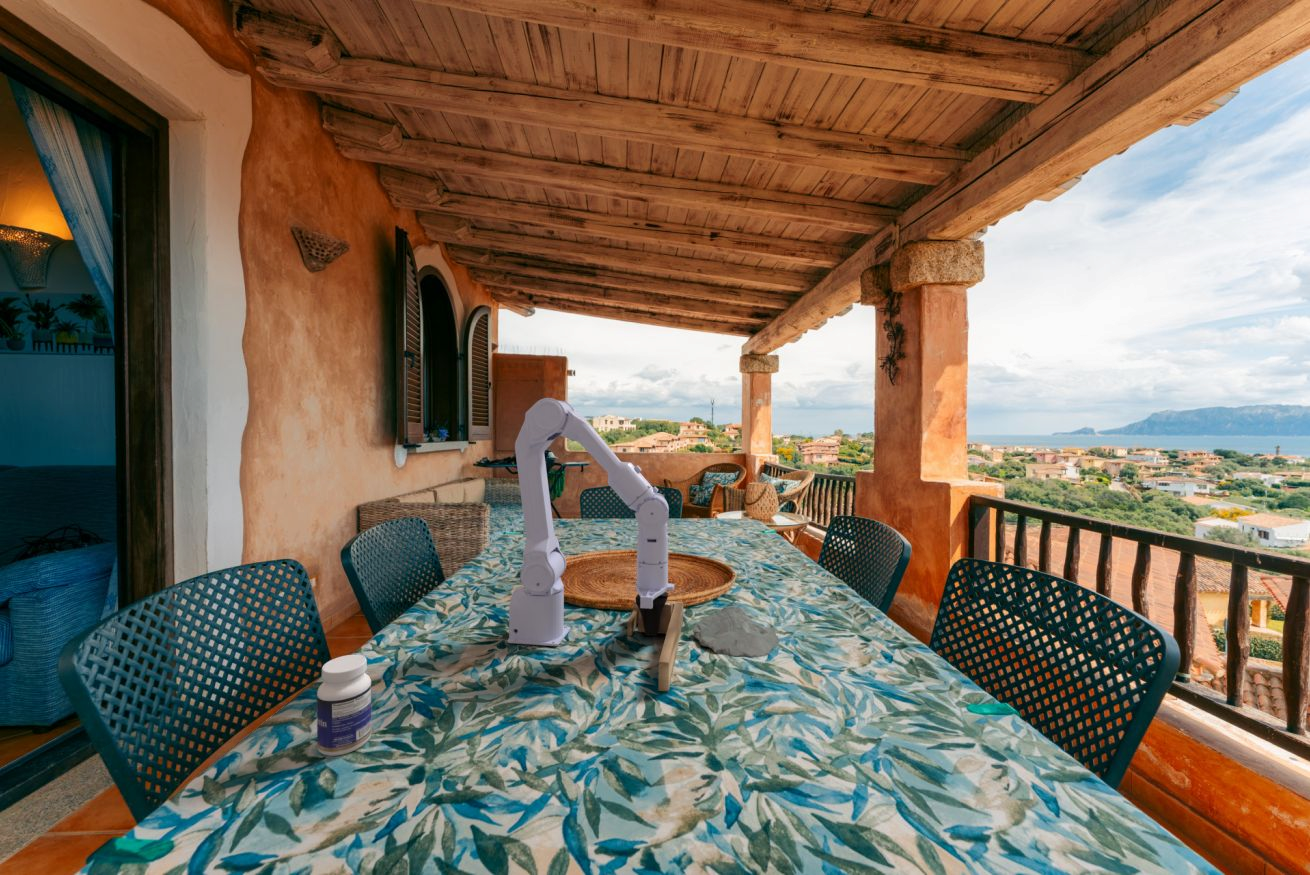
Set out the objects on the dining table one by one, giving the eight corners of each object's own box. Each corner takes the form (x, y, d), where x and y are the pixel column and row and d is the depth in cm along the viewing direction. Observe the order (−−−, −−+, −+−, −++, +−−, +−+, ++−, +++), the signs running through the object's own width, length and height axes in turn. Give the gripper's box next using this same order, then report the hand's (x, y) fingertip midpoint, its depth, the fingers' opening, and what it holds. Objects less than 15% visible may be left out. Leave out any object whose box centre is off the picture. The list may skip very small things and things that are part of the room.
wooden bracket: (603, 686, 76) (604, 658, 76) (635, 618, 104) (635, 597, 104) (668, 691, 75) (668, 662, 75) (683, 621, 102) (683, 600, 102)
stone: (693, 641, 87) (694, 597, 101) (691, 663, 88) (693, 616, 102) (786, 652, 86) (773, 606, 100) (783, 674, 86) (771, 625, 101)
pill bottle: (315, 739, 63) (315, 659, 63) (368, 724, 66) (368, 648, 66) (318, 764, 58) (318, 678, 58) (374, 746, 62) (374, 665, 61)
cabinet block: (637, 631, 94) (639, 602, 96) (641, 629, 98) (642, 601, 99) (670, 633, 93) (671, 604, 95) (672, 631, 97) (673, 603, 99)
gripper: (669, 572, 85) (669, 652, 85) (677, 551, 100) (677, 620, 100) (628, 570, 86) (628, 649, 86) (642, 550, 101) (641, 618, 101)
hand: (651, 634), depth 93 cm, fingers closed
